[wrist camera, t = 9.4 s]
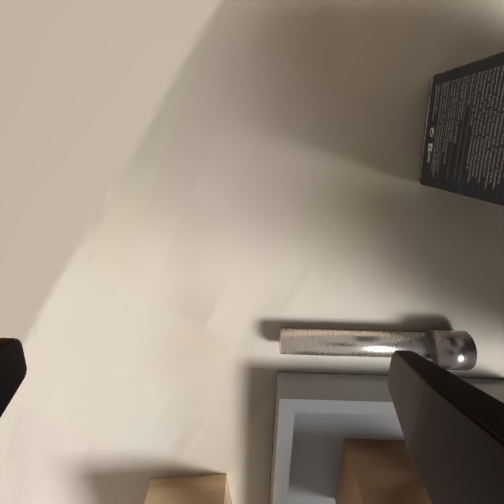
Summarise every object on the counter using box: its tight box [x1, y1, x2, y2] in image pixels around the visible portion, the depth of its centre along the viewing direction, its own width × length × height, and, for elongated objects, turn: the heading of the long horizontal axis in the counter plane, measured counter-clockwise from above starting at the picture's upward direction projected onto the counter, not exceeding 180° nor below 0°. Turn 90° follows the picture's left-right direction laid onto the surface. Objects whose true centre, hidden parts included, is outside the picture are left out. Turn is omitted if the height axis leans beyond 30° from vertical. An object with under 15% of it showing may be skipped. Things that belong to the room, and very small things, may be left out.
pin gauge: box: [279, 328, 477, 370], centre depth 21 cm, size 12×2×2 cm, turn 88°
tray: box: [269, 372, 504, 504], centre depth 24 cm, size 16×16×2 cm
